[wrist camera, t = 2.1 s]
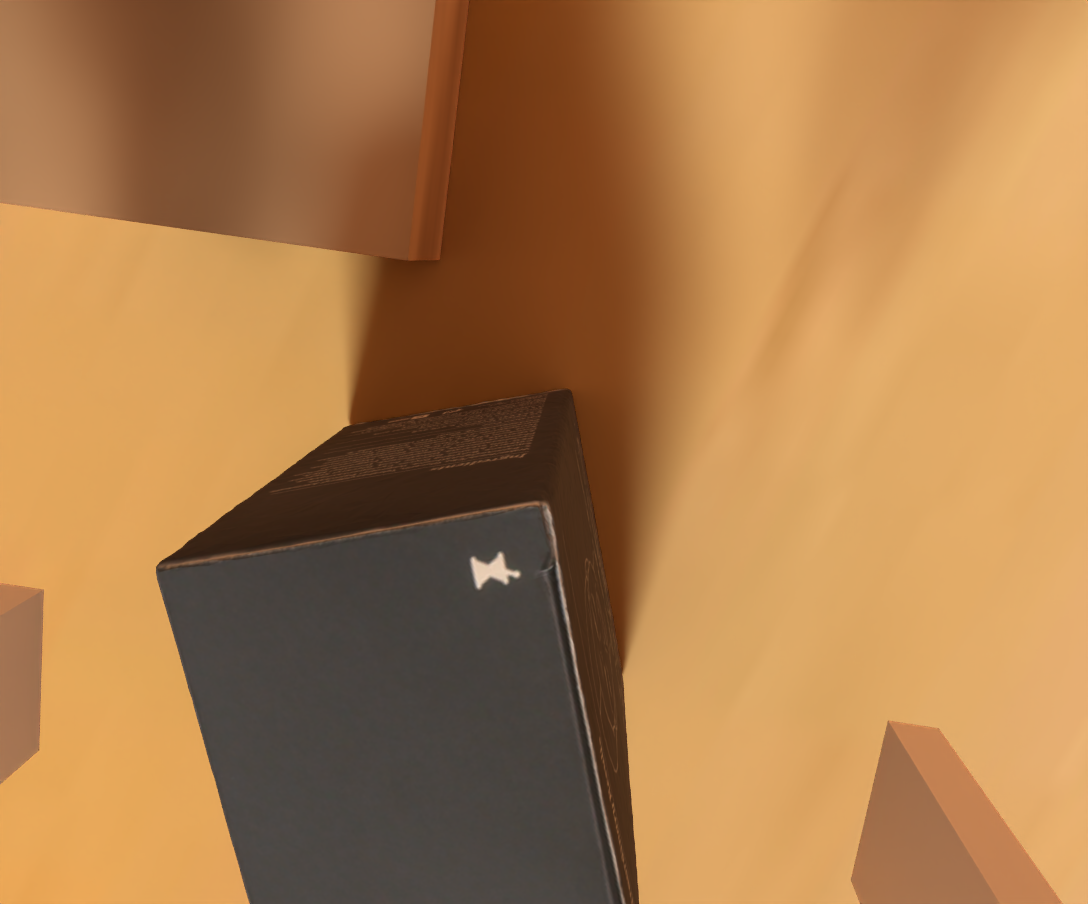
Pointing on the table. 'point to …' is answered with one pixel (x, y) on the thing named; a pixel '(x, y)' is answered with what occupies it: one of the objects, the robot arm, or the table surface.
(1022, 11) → the table surface
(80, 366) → the table surface
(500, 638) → the box
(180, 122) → the stand
